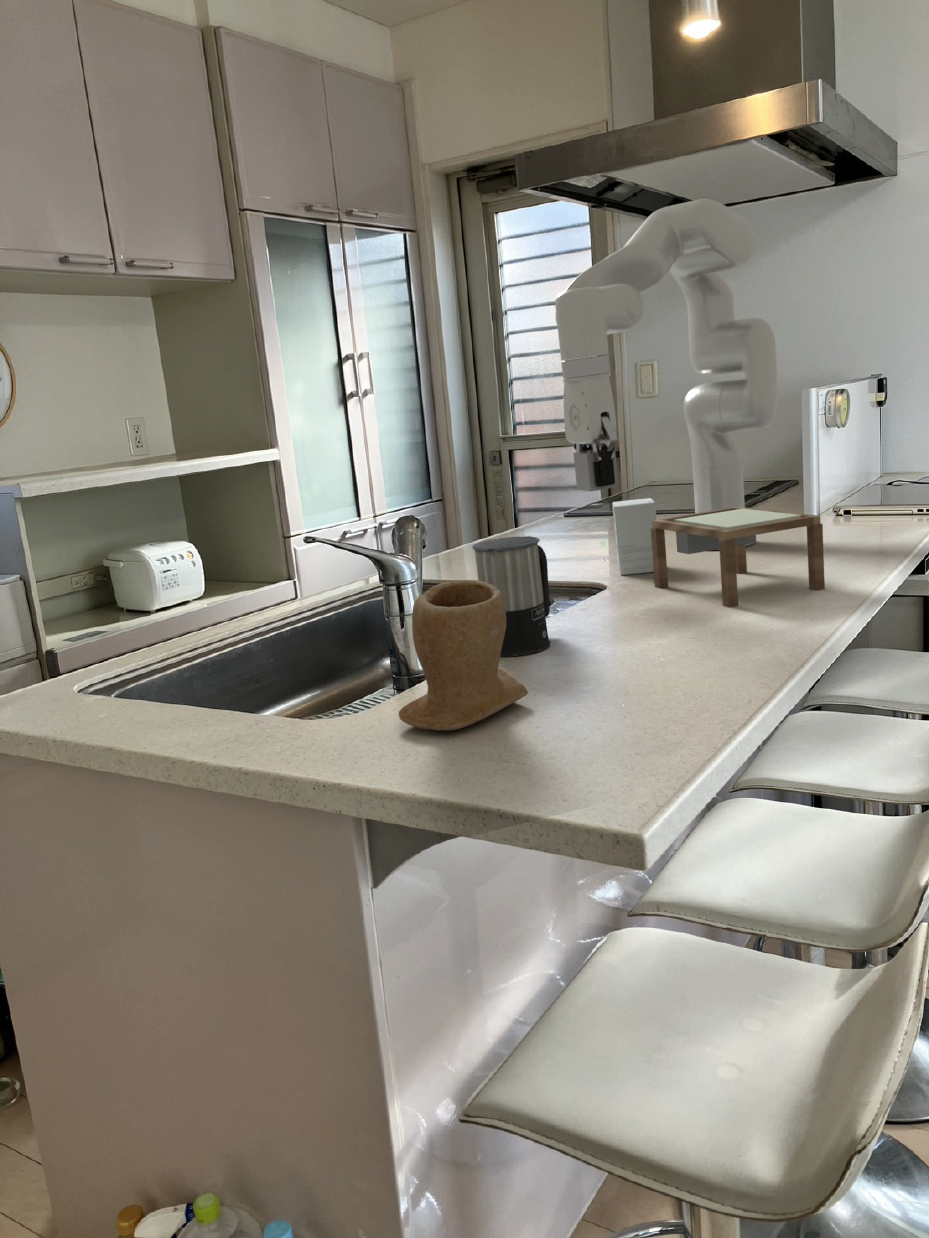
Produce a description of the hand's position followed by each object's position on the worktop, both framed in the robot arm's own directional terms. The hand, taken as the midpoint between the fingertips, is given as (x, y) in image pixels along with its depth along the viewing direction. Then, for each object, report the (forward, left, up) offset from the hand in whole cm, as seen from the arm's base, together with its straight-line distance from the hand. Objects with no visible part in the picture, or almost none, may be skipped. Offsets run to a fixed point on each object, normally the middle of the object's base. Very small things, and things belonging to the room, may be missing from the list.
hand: (597, 483), depth 164 cm
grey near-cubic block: (0, 0, -1) cm, 1 cm away
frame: (+13, +16, -18) cm, 28 cm away
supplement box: (-14, +13, -18) cm, 27 cm away
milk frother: (+20, -27, -19) cm, 38 cm away
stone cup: (+48, -41, -18) cm, 66 cm away
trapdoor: (+14, +16, -12) cm, 25 cm away
